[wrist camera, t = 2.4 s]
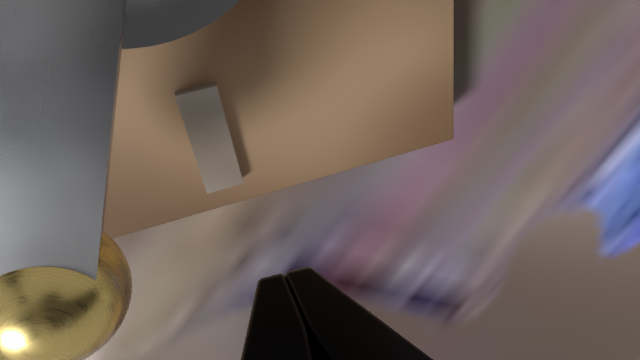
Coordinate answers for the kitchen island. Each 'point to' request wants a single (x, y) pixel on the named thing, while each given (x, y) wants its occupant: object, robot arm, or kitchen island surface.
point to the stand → (275, 103)
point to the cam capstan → (67, 165)
